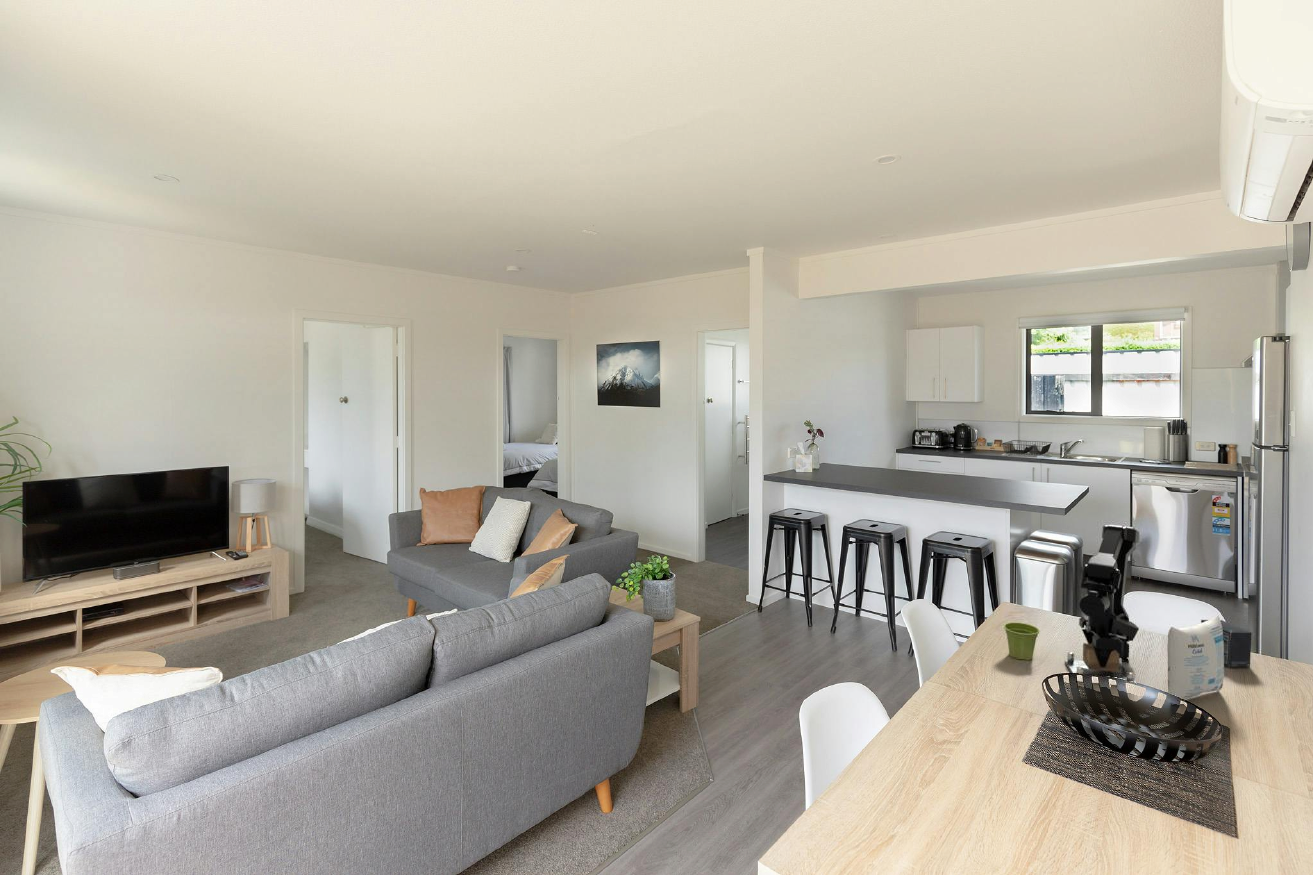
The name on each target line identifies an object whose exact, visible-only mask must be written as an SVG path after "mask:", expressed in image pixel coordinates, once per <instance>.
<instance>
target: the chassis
mask: <svg viewBox="0 0 1313 875" xmlns="http://www.w3.org/2000/svg"><path fill="white" fill-rule="evenodd" d="M1066 654H1067V656H1066V657H1067V658H1065V659H1064V663H1065V665H1066V667H1067V669H1068V671H1069V672H1070V673H1079V674H1083V673H1084V674H1092V675H1101V676H1110V677H1117V678H1122V679H1125V680H1127V681H1133V682H1135V683H1136V681H1135V673H1134V672H1130V671H1127V670H1126V668H1125V667H1124V666H1123V665H1122V664H1123V661H1122V658H1120V657H1119V672H1113V671H1103V670H1094V669H1088V667H1087V666H1086V664H1085V663H1084V661H1083V660H1078V659H1077V660H1075V653H1074V652H1072V651H1071V652H1070V651H1068V652H1067V653H1066ZM1136 684H1137V683H1136Z"/></svg>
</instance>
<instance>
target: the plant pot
mask: <svg viewBox="0 0 1313 875" xmlns="http://www.w3.org/2000/svg"><path fill="white" fill-rule="evenodd" d="M1003 628H1004V631H1005V633H1006V639H1007V645H1008V646H1007V647H1008V654H1009V656H1010V657H1012V658H1014V659H1017V660H1026V661H1029V660H1032V659H1033V657H1034V652H1035V645H1036V642H1037V641H1036V640H1037V638H1038V635H1039V634H1040V628H1038V627H1037V626H1034V625H1033V624H1029V623H1025V622H1007V623H1005V624H1003Z"/></svg>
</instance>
